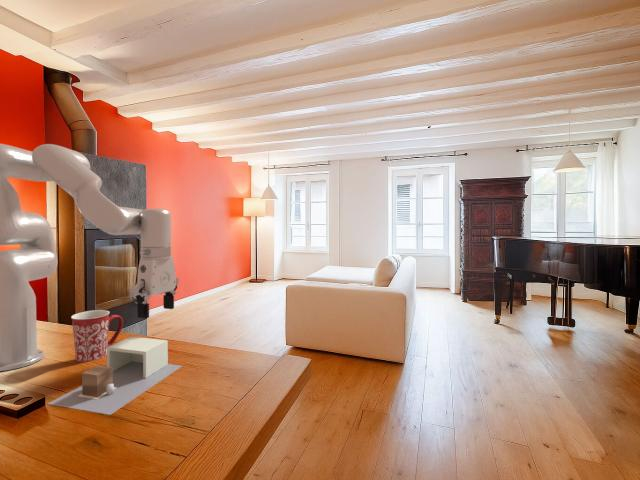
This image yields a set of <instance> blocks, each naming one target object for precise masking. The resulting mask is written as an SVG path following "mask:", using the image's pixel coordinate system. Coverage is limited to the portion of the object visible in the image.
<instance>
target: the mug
mask: <svg viewBox="0 0 640 480" xmlns="http://www.w3.org/2000/svg"><path fill="white" fill-rule="evenodd" d="M70 319H71V323H72V333H73V334H72V335H73V343H74V353H75V360H76V361H77V362H82V363H85V362H93V361H97V360H100V359H102V358H104V357H107V347H108V346H111V345H113V344H115V341H116V340H117V339H118V337H119V335H120V333H121V331H122V330H123V325H124V319H123V317H122V316H120V315H117V314H112V315H110V311H109V310H107V309H106V310H103V309H95V310H86V311H83V312H78V313H75V314H72V315H71V316H70ZM114 319H117V321H118V326H117V329H116V331H115V332H114V334H113V335H112V337H111V339H110V340H109V326H110V324H111V322H112V321H113V320H114Z"/></svg>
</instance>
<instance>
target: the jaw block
mask: <svg viewBox="0 0 640 480" xmlns="http://www.w3.org/2000/svg"><path fill="white" fill-rule="evenodd" d="M81 378H82V379H81V382H82V384H81V386H82V395H87V396H93V397H99V396H100V395H102V394H104V393H105V392H106V386H107V385H108V384H113V367H107V365H96V366H94V367H92V368H90V369H88V370H85V371H83V372H82V373H81Z"/></svg>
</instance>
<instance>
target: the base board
mask: <svg viewBox="0 0 640 480" xmlns="http://www.w3.org/2000/svg"><path fill="white" fill-rule="evenodd" d="M182 367H183V365H180V364H179V365H178V364H172V363H168V365H166V366H165V367H163V368H161V369H160V370H158V371H157V372H155V373H153V374H152V375H150V376H149V377H147V378H143V363H141V362H133V361H132V362H130V363H128V364H126V365H124V366H122V367H120V368H118V369H116V370H115V371H113V384H108V385H107V386H106V392H105V393H104V394H102V395H100V396H99V397H93V396H87V395H82V385H80V386H78V387H77V388H75V389H73V390H71V391H69V392H67V393H65V394H63V395H61V396H59V397H58V398H56V399H54V400H52V401H50V402H48V403H47V405H50V406H51V405H52V406H57V407H62V408H63V407H64V408H68V409H75V410H80V411H86V412H91V413H97V414H104V415H107V416H111V415H112V414H114V413H115V412H117V411H119V410H120V409H121V408H123V407H124V406H126V405H127V404H128V403H130V402H132V401H133V400H134V399H136V398H137V397H139V396H141V395H142V394H144V393H145V392H147V391H148V390H149V389H151V388H152V387H154V386H155V385H157V384H159V383H160V382H162V381H163V380H164V379H165V378H168V377H169V376H170V375H172V374H173V373H174V372H176V371H178V370H179V369H181V368H182Z"/></svg>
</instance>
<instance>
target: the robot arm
mask: <svg viewBox="0 0 640 480" xmlns="http://www.w3.org/2000/svg"><path fill="white" fill-rule="evenodd" d="M9 178H12V179H13V178H14V179H19V180H25V181H31V182H53V183H55V184H56V185H58V187H60V188H61V189H62V190H63V191H64V192H66V193H67V194H68V195H69V196H71V198H73V201H74V204H75V206H76V207H77V209H78V212H80V214H81V215H82V216H83V217H84V218H85V219H86V220H88V221H89V222H90V223H91V224H93V225H94V226H95V227H97V228H98V229H99V230H101V231H102V232H104V233H106V234H108V235H112V236H125V235H126V236H127V235H128V236H129V235H140V252H139V254H140V259H139V262H138V263H139V264H138V270H137V281H136V282H137V283H136V284H135V285H133V286H132V287H131V288H130V289H129V293H130V294H131V297H132V298H131V299H132V300H133V301H135V302H134V303H135V304H137V305H136V306H137V318H140V319H148V318H150V303H148V301H149V300H150V299H151V298H150V297H151V296H158V295H162V294H163V301H162V302H163V309H164V310H168V309H169V310H173V309H174V308H175V295H176V291H177V289H178V284H179V280H180V279H179V278H177V277H176V269H175V268H176V267H175V262H174V258H173V256H172V216H171V212H170V211H169V210H168V209H165V208H164V209H161V208H145V209H142V208H134V207H126V206H125V207H124V206H118V205H117V204H116V203H114V202H113V201H112V200H111V199H109V198H108V197H107V196H105V195H104V194H103V193H102V192H101V191H100V189H101V188H102V186H103V181H102V178H101V177H100V176H99V175H98V174H96V173H95V172H94V171H92V170H91V163H90V161H89V159H88V158H87V157H86V156H85V155H84V154H82V153H81V152H79V151H76V150H73V149H70V148H67V147H65V146H61V145H59V144H58V145H57V144H53V143H45V144H41V145H38V146H36V147H35V148H34V149H33V150H27V149H24V148H20V147H17V146H13V145H9V144H5V143H0V246H14V245H19V246H20V248H17V249H16V248H15V249H7V250H0V372H4V371H10V370H16V369H20V368H23V367H26V366H29V365H32V364H35V363H37V362H39V361H41V360H42V359H43V358H44V357H45V351H44V350H41V349H38V337H37V336H38V335H37V334H38V333H37V330H38V329H37V296H36V294H35V292H34V289H33V288H32V286H31V284H30V283H29V282H31V281H36V280H41V279H45V278H49V277H50V276H52V275H53V274H54V273H56V270H57V268H58V263H59V261H58V254H57V249H56V245H55V244H56V243H55V239H54V233H53V230H52V227H51V224H50V222H49V221H48V220H47V218H45V217H44V216H42V215H41V214H39V213H35V212H28V211H23V209H22V206H21V202H20V197H19V196H20V195H19V194H18V192H17V190H16V189H15V187H14V186H13V185H12V184H11V182H10V181H9Z"/></svg>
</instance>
